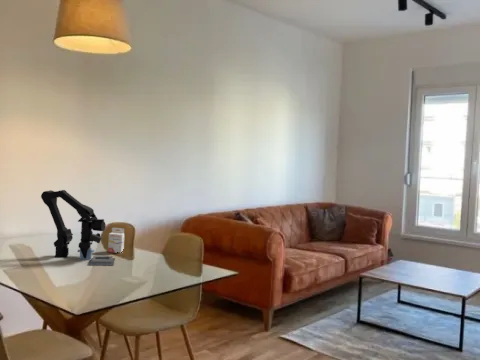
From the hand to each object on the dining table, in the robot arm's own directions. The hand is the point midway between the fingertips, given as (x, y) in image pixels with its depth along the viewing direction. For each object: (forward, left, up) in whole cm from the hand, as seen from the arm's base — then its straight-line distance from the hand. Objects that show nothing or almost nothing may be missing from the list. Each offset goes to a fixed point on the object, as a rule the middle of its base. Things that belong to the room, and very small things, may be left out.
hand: (85, 256), depth 289 cm
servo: (0, 0, -1) cm, 1 cm away
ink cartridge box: (+16, +17, -1) cm, 23 cm away
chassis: (+10, -9, -1) cm, 13 cm away
